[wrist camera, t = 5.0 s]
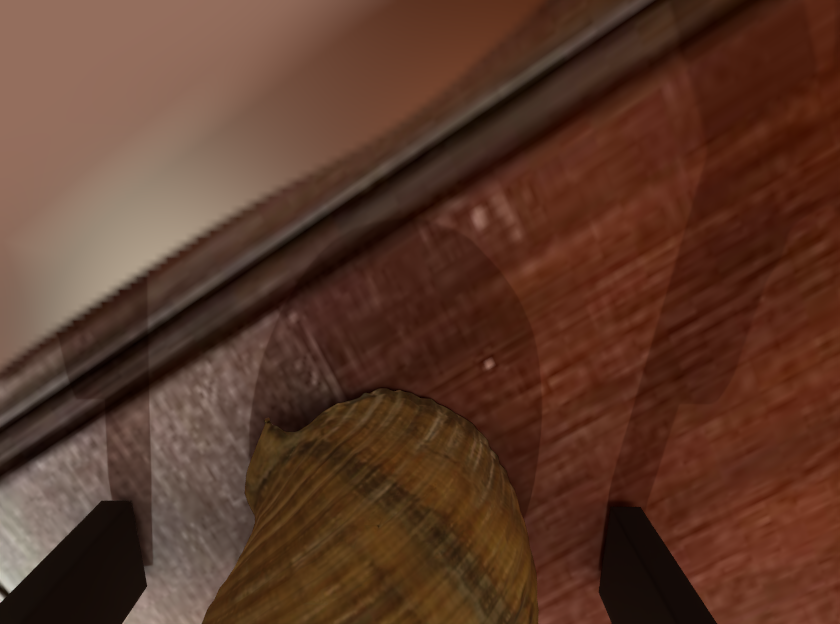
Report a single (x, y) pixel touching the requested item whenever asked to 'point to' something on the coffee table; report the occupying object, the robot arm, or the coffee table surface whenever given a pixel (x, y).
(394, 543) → the seashell
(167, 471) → the coffee table surface
